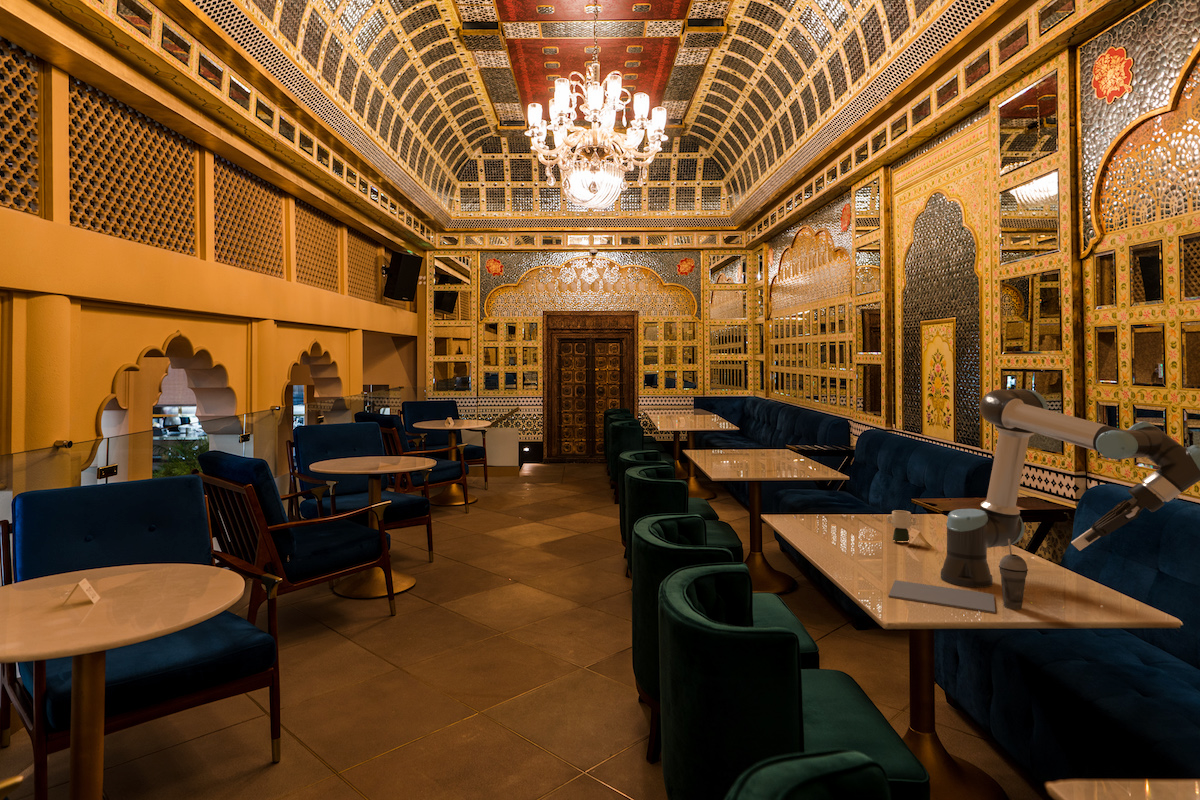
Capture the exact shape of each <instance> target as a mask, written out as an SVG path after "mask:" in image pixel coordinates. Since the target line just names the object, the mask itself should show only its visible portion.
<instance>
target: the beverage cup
mask: <svg viewBox="0 0 1200 800" xmlns="http://www.w3.org/2000/svg"><path fill="white" fill-rule="evenodd" d="M1008 543H1009V546H1008V549H1009V554H1006V555H1004V556H1003V557H1002V558H1001V559H1000V561H999V565H998V568H999V574H1000V578H1001V579H1000V581H1001V591H1002V592H1001V594H1002V602H1003V607H1004V608H1006V607H1007V608H1006V609H1008V608H1009V610H1014V611H1016V610H1017V611H1021V610H1023V602H1024V596H1025V595H1024V594H1025V588H1026V587H1025V586H1026V580H1027V579H1026V578H1027V576H1028V571H1029V569H1028V565H1027V563H1026V561H1025V559H1024V558H1022V556H1020V555H1017V554H1014V553H1012V552H1013V551H1012V546H1011V545H1012V544H1011V543H1010V539H1008Z"/></svg>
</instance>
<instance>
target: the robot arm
mask: <svg viewBox="0 0 1200 800" xmlns="http://www.w3.org/2000/svg"><path fill="white" fill-rule="evenodd" d="M1047 402H1048V401H1046V399H1045V398H1044V396H1043V395H1042V394H1041V393H1039V392H1037V391H1035V390H1031V389H1025V388H1017V389H1016V388H1013V389H1004V388H1003V389H1001V388H1000V389H994V390H991V391H989V392H988V393H987V392H986V394H985V395H984V396H983V397H982V398H981V400H980V403H979V406H978V407H979V412H980V415H981V417H982V418H983V420H985V421H986V422H987V423H990V424H992V425H994V428H995V429H996V430H997V432H998V436H997V442H996V446H995V452H994V457H993V458H994V459H993V463H992V467H991V469H992V470H991V473H990V478H989V485H988V489H987V494H986V499H985V500H983V501H982V502H980V506H979V509H977V508H960V509H953V510H951V511H949V513H948V514H947V518H946V519H947V521H946V556H945V559H944V562H943V565H942V568H941V570H940V580H943V581H944V582H946V583H950V584H953V585H956V586H961V587H962V586H963V587H967V588H968V587H969V588H988V587H991V586H992V585H993V580H994V579H993V575H992V574H991V570H990V566H989V564H988V556H987V555H988V552H987V551H988V549H990V548H997V547H998V548H999V547H1001V548H1004V547H1009V543H1008V539H1010V543H1011V545H1015V544H1016V543H1018V542H1019V541H1020V540H1021V539H1022V538H1023V536H1024V534H1025V529H1026V527H1025V522H1023V519H1022V517H1021V516H1020V515H1021V510H1020V508H1018V507H1017V500H1018V497H1019V492H1020V487H1021V480H1022V477H1023V470H1024V467H1025V462H1026V461H1025V460H1026V455H1027V451H1028V445H1029V441H1030V437H1032V436H1033V435H1035V434H1038V435H1040V436H1045V437H1048V438H1052V439H1056V440H1058V441H1063V442H1064V443H1069V444H1072V445H1076V446H1079V447H1082V448H1086V449H1089V450H1092V451H1095V452H1098V453H1099V454H1100V455H1102V456H1103V457H1104V458H1107V459H1110V460H1111V459H1113V460H1114V459H1115V460H1127V459H1135V458H1137V459H1139V458H1147V459H1148V460H1149V461H1151V462H1152V463H1153V464H1154V465H1156V466H1157V467H1159V468H1157V469H1156V470H1155V471H1153V472H1152V473H1150V474H1149V475H1147V476H1145V478H1143V479H1142V480H1141V482H1139V483H1138V482H1137V483H1136V484H1134V485H1133V486H1132V487H1131V488H1128V494H1130V496H1132V498H1130V499H1127V500H1126V499H1124V500H1123V501H1122V502H1121V501H1120V502H1118V503H1117V505H1115V506H1114V507H1113V508H1112V509H1110V510H1109V511H1108V512H1107V513H1106V514H1105V515H1103V516H1101V518H1099V519H1097V520H1096V521H1095V522H1093V523H1092V526H1090V528H1089V529H1088V530H1086V531H1085V532H1084V533H1082V534H1080V535H1079V536H1078V537H1076V538H1075V539H1073V540H1071V542H1070V543H1071V545H1073V546H1074V548H1076V549H1077V550H1078V551H1079V552H1080V551H1082V550H1083V549H1085V548H1086V547H1088V546H1089V545H1091V544H1093V542H1095V541H1096V540H1098V539H1099V538H1101V537H1107V536H1108V535H1110V534H1111V533H1113V532H1114V531H1116V530H1117V529H1119V528H1121V527H1123V526H1125V525H1126V524H1128V523H1129V522H1132V521H1133V520H1135V519H1138V517H1139V515H1140V514H1141V512H1142V511H1143V510H1144V509H1145V508H1146V509H1147V510H1149V512H1151V513H1153V512H1154V513H1155V512H1156V511H1158V510H1159V509H1160V508H1163V506H1165V503H1166V502H1167V503H1168V502H1170V501H1172V500H1174V498H1175V499H1176V500H1177V499H1179V497H1180V496H1179V495H1181V494H1182V493H1184V491H1186V490H1188V489H1189V488H1191V487H1193V486H1194V485H1195V484H1197V483H1199V482H1200V446H1199V445H1195V444H1192V445H1190V446H1187V447H1185V446H1184V445H1182V444H1180V443H1179V442H1177V441H1176V440H1175V439H1174V438H1172V437H1171V436H1169V435H1168V434H1167V433H1165V432H1164V431H1162V429H1161V428H1160V427H1158V426H1155V425H1154V424H1152V423H1150V422H1149V421H1144V420H1143V421H1140V422H1136V423H1134V424H1133V425H1131V426H1130V427H1129V428H1128V429H1123V428H1118V427H1114V426H1110V425H1107V424H1104V423H1103V424H1102V423H1099V422H1095V421H1092V420H1088V419H1083V418H1080V417H1077V416H1073V415H1070V414H1069V415H1068V414H1065V413H1061V412H1057V411H1053V410H1051V409H1050V410H1049V405H1048V403H1047Z"/></svg>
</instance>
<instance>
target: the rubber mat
mask: <svg viewBox="0 0 1200 800" xmlns="http://www.w3.org/2000/svg"><path fill="white" fill-rule="evenodd" d="M888 598H893V599H900V600H904V601H905V600H906V601H912V602H916V603H917V602H918V603H919V602H920V603H925V604H930V605H931V604H932V605H937V606H944V607H951V608H956V607H957V608H958V609H962V608H967V609H966V610H969V609H973V610H972V611H975V610H979V611H978V612H982V611H985V612H984V613H988V612H991V613H990V614H996V605H995V604H996V603H995V593H987V592H980V591H975V590H974V591H973V590H969V589H960V588H953V587H946V586H940V585H932V584H925V583H918V582H911V581H904V580H897V579H894V582H893V583H892V586H891V588H890V591H889V593H888Z"/></svg>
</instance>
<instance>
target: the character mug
mask: <svg viewBox="0 0 1200 800" xmlns="http://www.w3.org/2000/svg"><path fill="white" fill-rule="evenodd" d="M890 519H891V520H890ZM912 520H913V521H912ZM886 522H887V523H888V524H891V526H892V527H894V529H893V535H892V541H893V540H895V541H908V540H909V541H910V534H909V530H908V529H909V528H910V529H911V526H916V524H917V518H916V516H912V512H910V511H907V510H900V509H899V510H898V509H897V510H896V509H895V510H892V511H891V514H888V515H887V516H886ZM895 541H894V542H895Z"/></svg>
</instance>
